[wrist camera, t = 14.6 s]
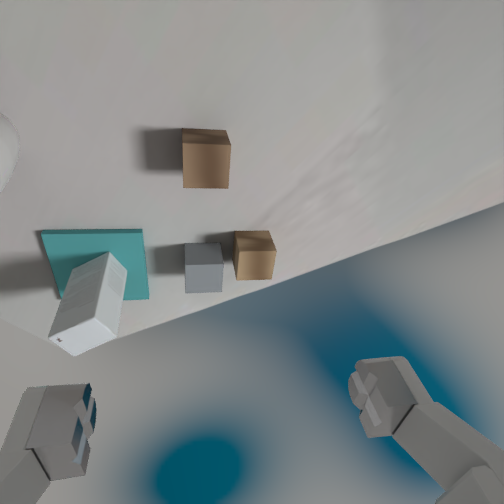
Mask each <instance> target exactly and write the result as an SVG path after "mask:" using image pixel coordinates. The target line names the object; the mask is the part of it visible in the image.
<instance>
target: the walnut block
mask: <svg viewBox="0 0 504 504" xmlns="http://www.w3.org/2000/svg"><path fill="white" fill-rule="evenodd" d="M182 151H183V188H224V189H228V185H229V169H230V154H231V144H230V141H229V138H228V135H227V132H226V130H208V129H187V128H182Z"/></svg>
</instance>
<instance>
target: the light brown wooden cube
mask: <svg viewBox="0 0 504 504" xmlns="http://www.w3.org/2000/svg"><path fill="white" fill-rule="evenodd" d="M276 252H277V251H276V248H275V245H274V243H273V240H272V238H271V235H270V232H269V231H235V233H234V244H233V256H232V260H233V265H234V270H235V275H236V280H265V279H272V274H273V268H274V263H275V257H276Z"/></svg>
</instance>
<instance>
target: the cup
mask: <svg viewBox="0 0 504 504" xmlns="http://www.w3.org/2000/svg"><path fill="white" fill-rule="evenodd" d="M19 150H20V138H19V134H18V131H17V129H16V128H15V126H14V125H13V123H12V122H11V121H10V120H9V119H8V118H6V117H5V116H4V115H2V114H0V193H1V191H2V190H3V188H4V187H5V185H6V184H7V182H8V181H9V180H10V178H11V176H12V173H13V171H14V168H15V166H16V163H17V160H18V158H19Z"/></svg>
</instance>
